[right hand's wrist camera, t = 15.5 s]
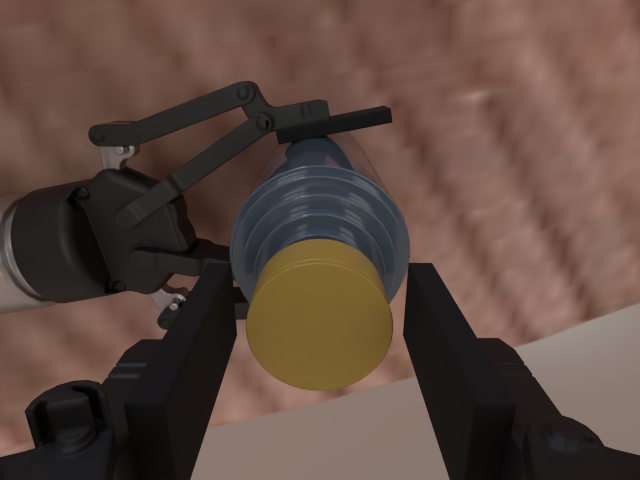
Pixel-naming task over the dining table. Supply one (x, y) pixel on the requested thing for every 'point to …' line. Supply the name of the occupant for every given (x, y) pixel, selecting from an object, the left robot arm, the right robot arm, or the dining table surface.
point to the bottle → (319, 210)
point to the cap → (319, 316)
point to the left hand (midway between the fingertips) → (396, 182)
